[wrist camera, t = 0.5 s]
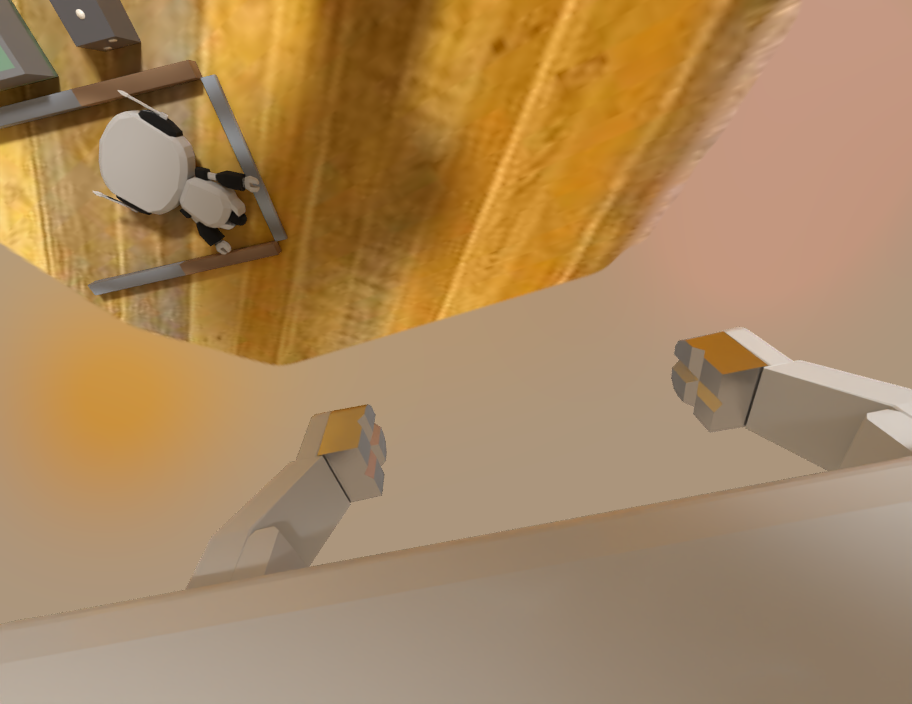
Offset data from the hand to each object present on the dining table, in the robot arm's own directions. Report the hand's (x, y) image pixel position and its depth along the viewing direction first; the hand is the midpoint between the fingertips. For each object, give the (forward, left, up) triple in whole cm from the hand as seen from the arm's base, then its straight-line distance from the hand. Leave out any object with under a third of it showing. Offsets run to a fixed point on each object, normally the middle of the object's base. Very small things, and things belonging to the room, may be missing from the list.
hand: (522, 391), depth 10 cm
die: (-20, -31, -45) cm, 58 cm away
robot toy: (-5, -30, -45) cm, 54 cm away
